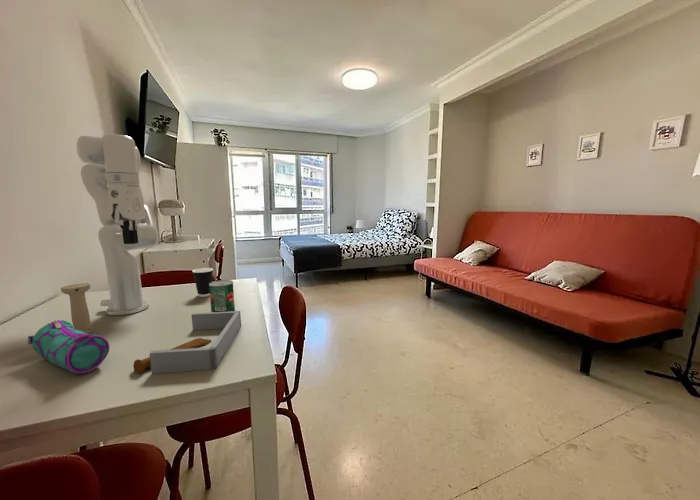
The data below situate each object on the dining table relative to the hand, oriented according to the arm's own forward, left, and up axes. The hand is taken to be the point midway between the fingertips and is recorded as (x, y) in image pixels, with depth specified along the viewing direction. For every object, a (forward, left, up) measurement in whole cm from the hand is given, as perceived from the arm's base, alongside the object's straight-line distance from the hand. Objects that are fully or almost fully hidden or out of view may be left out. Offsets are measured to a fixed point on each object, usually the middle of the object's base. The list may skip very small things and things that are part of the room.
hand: (131, 243), depth 90 cm
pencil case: (-6, -19, -28) cm, 34 cm away
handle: (-16, -1, -27) cm, 32 cm away
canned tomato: (+21, +12, -27) cm, 36 cm away
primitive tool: (+17, -18, -28) cm, 37 cm away
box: (+23, -14, -27) cm, 38 cm away
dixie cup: (+7, +35, -27) cm, 45 cm away
